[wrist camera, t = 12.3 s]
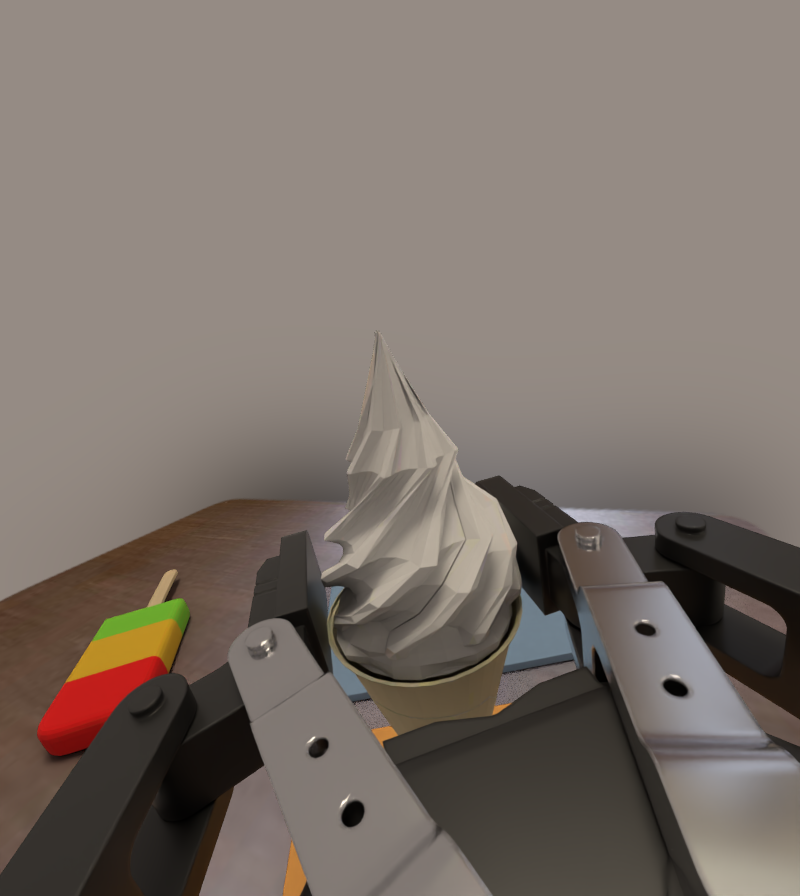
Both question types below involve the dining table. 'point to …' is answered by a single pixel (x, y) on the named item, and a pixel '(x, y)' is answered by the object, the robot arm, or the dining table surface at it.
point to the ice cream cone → (419, 565)
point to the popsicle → (114, 669)
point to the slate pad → (529, 648)
